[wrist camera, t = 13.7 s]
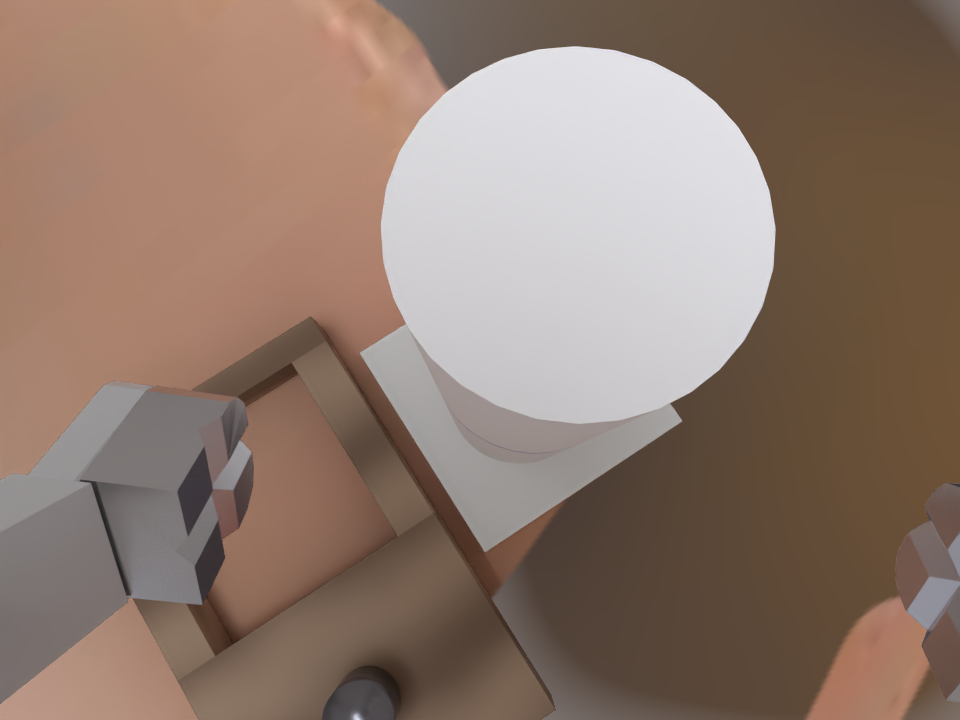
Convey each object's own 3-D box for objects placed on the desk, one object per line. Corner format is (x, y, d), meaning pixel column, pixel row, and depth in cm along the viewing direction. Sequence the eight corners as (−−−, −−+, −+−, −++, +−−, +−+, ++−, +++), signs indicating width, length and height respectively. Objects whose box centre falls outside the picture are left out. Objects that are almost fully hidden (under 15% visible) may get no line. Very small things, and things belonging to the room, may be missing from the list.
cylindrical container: (422, 372, 38) (308, 170, 14) (538, 300, 39) (629, -19, 14) (496, 491, 37) (518, 503, 13) (614, 415, 38) (855, 285, 13)
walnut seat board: (89, 470, 38) (24, 468, 33) (321, 326, 40) (295, 301, 34) (306, 863, 35) (273, 932, 30) (550, 694, 36) (562, 731, 31)
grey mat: (361, 355, 39) (359, 352, 38) (550, 237, 40) (551, 232, 40) (484, 551, 38) (485, 552, 37) (678, 422, 39) (682, 421, 38)
